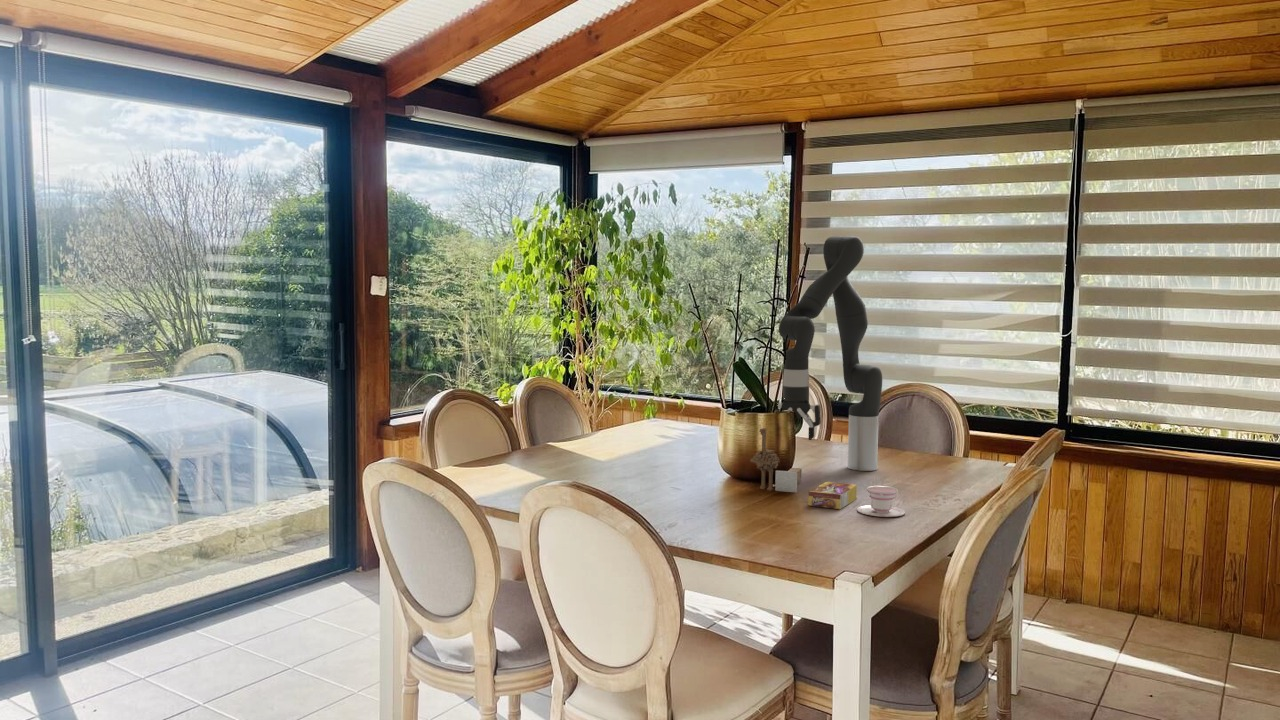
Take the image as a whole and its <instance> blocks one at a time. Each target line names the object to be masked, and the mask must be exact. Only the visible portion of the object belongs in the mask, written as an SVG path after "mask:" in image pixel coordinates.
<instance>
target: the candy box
mask: <svg viewBox="0 0 1280 720" xmlns="http://www.w3.org/2000/svg"><path fill="white" fill-rule="evenodd" d="M857 487H858V485H857V484H853V483H852V484H851V483H843V482H841V483H840V482H834V481H825V482H823V483H822V484H820V485H818V486H816V487H814V488H812V489H811V490H808V506H810V507H818V508H827V509H835V510H842V509H843V508H845V507H846V506H848V505H849V504H851V503H853V502H854V501H855V500H857V495H858V493H857V491H858V489H857Z"/></svg>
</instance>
